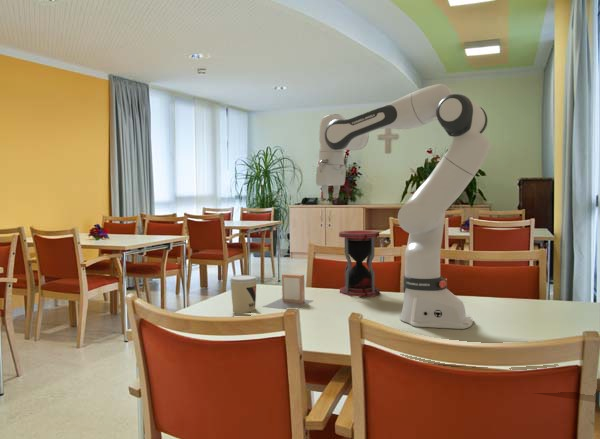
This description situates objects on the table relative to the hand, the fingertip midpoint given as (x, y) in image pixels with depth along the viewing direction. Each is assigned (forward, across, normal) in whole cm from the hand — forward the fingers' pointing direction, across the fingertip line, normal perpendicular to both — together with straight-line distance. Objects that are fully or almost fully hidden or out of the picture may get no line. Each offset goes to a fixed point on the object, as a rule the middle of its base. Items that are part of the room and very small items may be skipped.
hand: (330, 198), depth 187 cm
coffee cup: (+40, -22, +24) cm, 51 cm away
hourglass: (+39, +21, -5) cm, 45 cm away
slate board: (+39, -9, +13) cm, 42 cm away
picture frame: (+39, -5, +13) cm, 41 cm away
